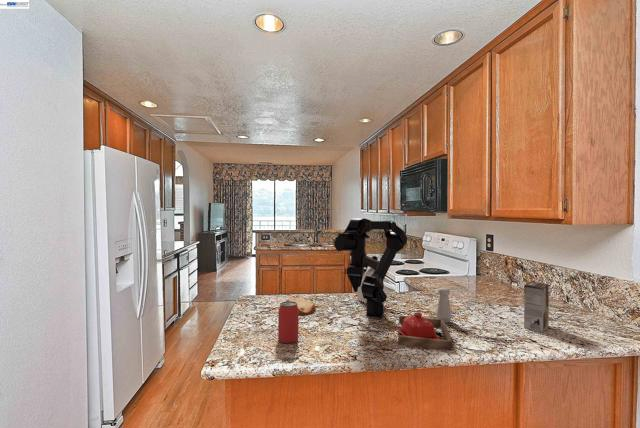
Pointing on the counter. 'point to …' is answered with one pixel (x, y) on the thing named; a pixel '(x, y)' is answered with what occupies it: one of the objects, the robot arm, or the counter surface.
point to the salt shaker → (444, 305)
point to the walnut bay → (428, 342)
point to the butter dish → (417, 327)
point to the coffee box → (536, 306)
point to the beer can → (288, 322)
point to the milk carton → (367, 273)
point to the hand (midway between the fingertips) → (357, 289)
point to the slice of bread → (304, 306)
